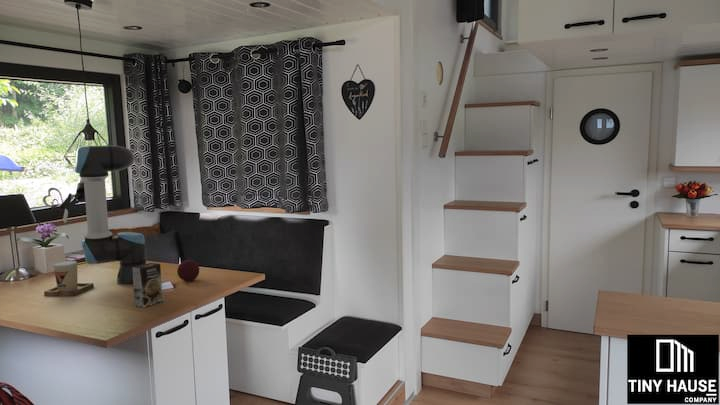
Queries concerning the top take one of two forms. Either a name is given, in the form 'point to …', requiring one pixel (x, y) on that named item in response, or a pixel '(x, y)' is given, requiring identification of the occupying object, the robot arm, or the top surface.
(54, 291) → the coaster tray
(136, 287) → the coffee box
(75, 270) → the coffee cup
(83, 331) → the top surface
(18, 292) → the top surface
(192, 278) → the decorative ball
